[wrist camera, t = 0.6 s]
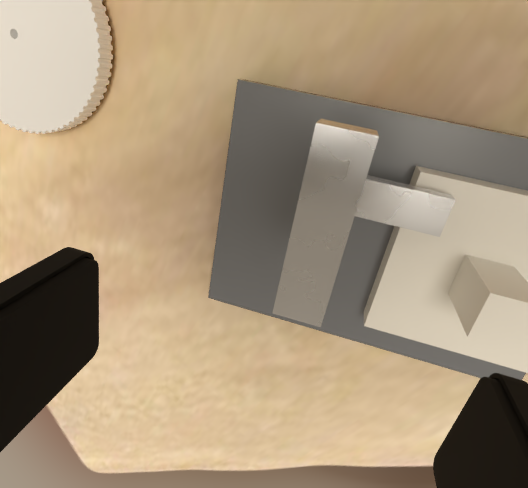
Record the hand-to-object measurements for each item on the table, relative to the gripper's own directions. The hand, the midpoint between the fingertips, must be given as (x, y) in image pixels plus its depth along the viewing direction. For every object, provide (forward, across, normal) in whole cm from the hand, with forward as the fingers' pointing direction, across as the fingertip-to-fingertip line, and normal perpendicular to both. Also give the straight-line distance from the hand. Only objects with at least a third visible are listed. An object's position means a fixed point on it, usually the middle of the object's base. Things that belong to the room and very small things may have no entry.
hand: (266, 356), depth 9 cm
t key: (+19, -3, 0) cm, 19 cm away
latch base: (+21, -6, +4) cm, 22 cm away
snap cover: (+19, -12, +4) cm, 23 cm away
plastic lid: (+22, +24, -5) cm, 33 cm away
